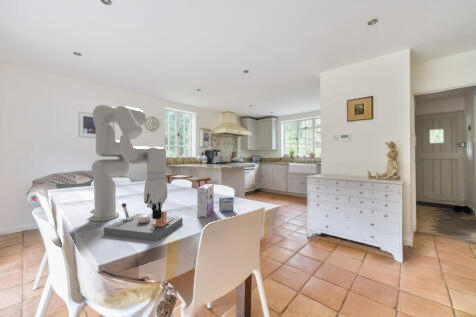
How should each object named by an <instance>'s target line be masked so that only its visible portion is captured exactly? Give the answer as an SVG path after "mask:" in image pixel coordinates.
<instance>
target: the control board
mask: <svg viewBox="0 0 476 317" xmlns="http://www.w3.org/2000/svg"><path fill="white" fill-rule="evenodd" d="M140 215H147V214H145V213H136V214H133V215H131V216H129V218H123V219H122V220H119V221H117V222H114V223H112V224H110V225H107V226H104V227H103V235H104V236H105V235H106V236H114V237H121V238H127V239H128V238H130V239H136V240H143V241H144V240H146V241H152V242H153V241H154V242H158V241H160V240H161V239H162V238H164V237H165V236H167V235H168V234H169V233H171V232H172V231H174V230H176V229H177V228H179V227H180V226H181V225H183V217H177V216H167V220H170V222H169V223H168V224H166V225H164V226H163V227H159V226H152V224H153V223H155V222H156V219H153V218H152V214H149V215H150V221H149V222H147V223H138V216H140Z"/></svg>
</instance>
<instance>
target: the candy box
mask: <svg viewBox="0 0 476 317" xmlns="http://www.w3.org/2000/svg"><path fill="white" fill-rule="evenodd" d="M214 189H215V188H214V183H213V184H211V183H209V184H207V183H205V184H203V185H201V186H199V187H197V218H202V219H203V218H209V216H210V215H211V214H212V213H213V212H214V210H215V209H214V208H215V206H214V204H215V202H214V200H215V199H214V198H215V197H214V194H215V193H214Z"/></svg>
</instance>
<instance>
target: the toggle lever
mask: <svg viewBox="0 0 476 317" xmlns="http://www.w3.org/2000/svg"><path fill="white" fill-rule="evenodd" d="M121 208H123V211H124V215H125V217H126V218H129V217H130V215H129V212H128V209H127V203H126V202H123V203H122V204H121ZM126 218H125V219H126Z"/></svg>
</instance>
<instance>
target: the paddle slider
mask: <svg viewBox="0 0 476 317" xmlns="http://www.w3.org/2000/svg"><path fill="white" fill-rule="evenodd" d="M167 213H168V211H167V210H163V209H161V218H160V219H156V222H155V223H153V224H152V226H159V227H163V226H164V225H166V224H168V223H169V222H170V220H167V215H168V214H167Z"/></svg>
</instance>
